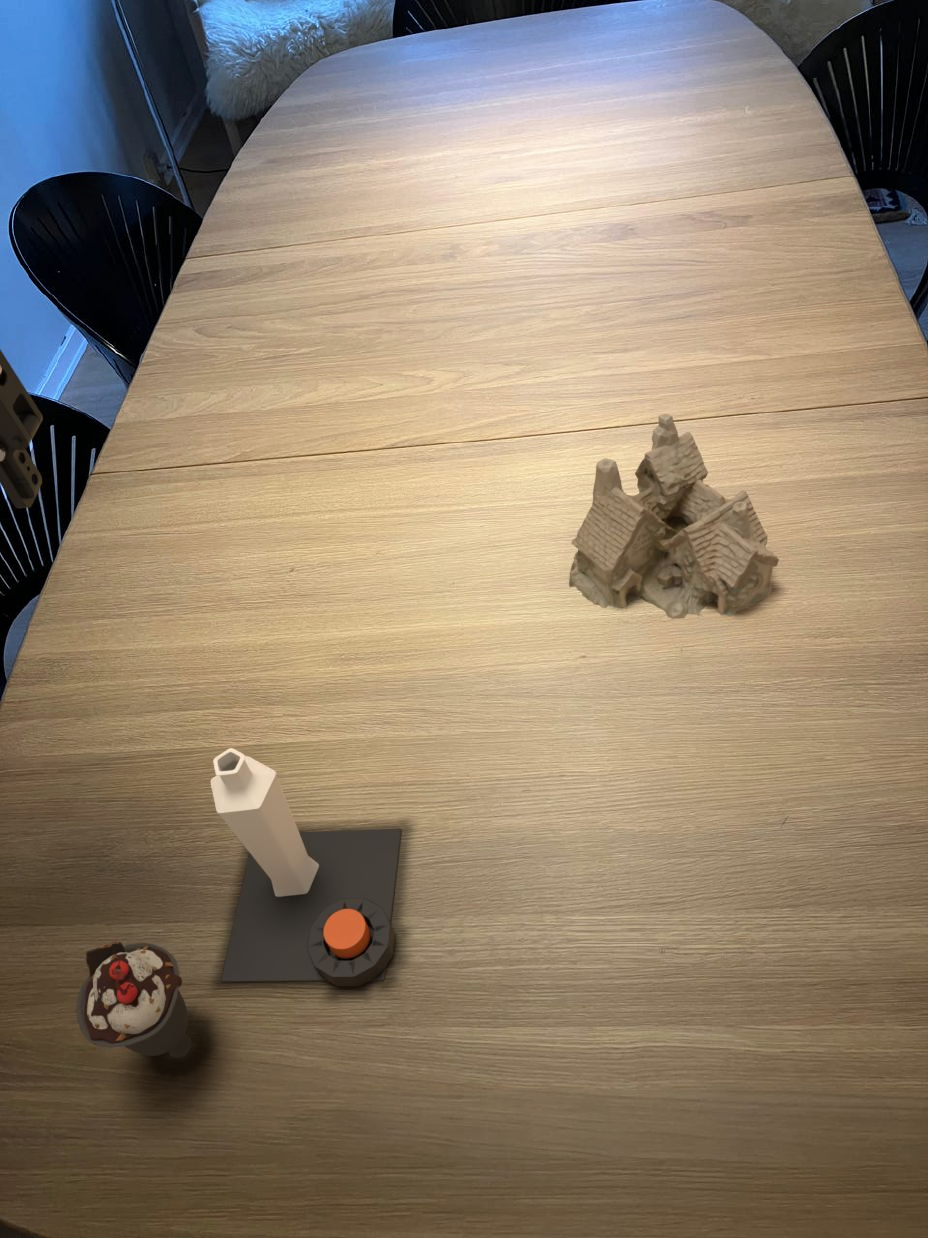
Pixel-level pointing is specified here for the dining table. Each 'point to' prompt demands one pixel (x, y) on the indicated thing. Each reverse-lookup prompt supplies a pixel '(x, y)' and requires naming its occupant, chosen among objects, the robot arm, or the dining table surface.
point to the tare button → (346, 933)
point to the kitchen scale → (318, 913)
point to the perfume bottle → (262, 821)
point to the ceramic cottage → (670, 536)
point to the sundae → (134, 1000)
